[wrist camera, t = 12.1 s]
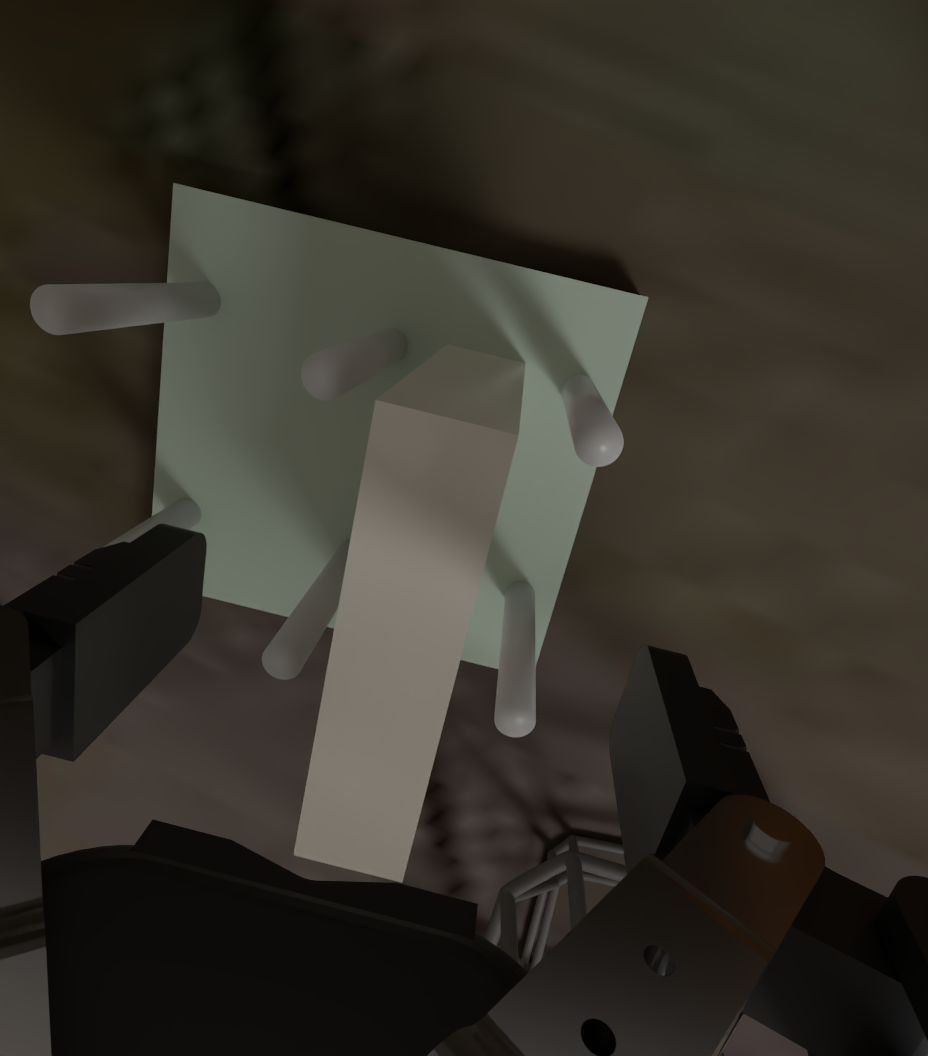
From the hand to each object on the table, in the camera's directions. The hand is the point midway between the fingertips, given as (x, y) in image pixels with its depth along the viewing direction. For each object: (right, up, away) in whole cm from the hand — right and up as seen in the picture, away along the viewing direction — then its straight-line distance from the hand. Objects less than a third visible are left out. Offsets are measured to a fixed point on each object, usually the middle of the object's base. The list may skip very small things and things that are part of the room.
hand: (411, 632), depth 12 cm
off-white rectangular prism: (0, +3, +10) cm, 10 cm away
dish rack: (-2, +5, +11) cm, 12 cm away
